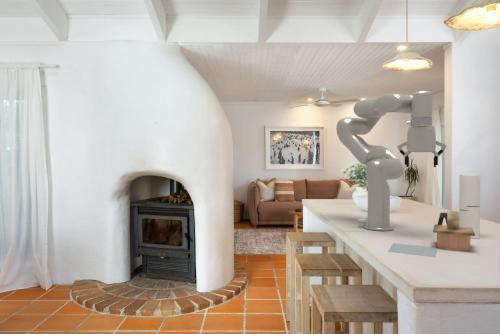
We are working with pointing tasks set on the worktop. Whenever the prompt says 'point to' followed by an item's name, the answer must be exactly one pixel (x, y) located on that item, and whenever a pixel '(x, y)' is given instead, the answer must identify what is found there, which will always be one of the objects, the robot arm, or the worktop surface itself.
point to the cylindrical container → (469, 203)
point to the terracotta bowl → (453, 241)
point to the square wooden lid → (453, 226)
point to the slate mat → (413, 250)
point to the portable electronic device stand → (441, 217)
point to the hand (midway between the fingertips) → (420, 166)
